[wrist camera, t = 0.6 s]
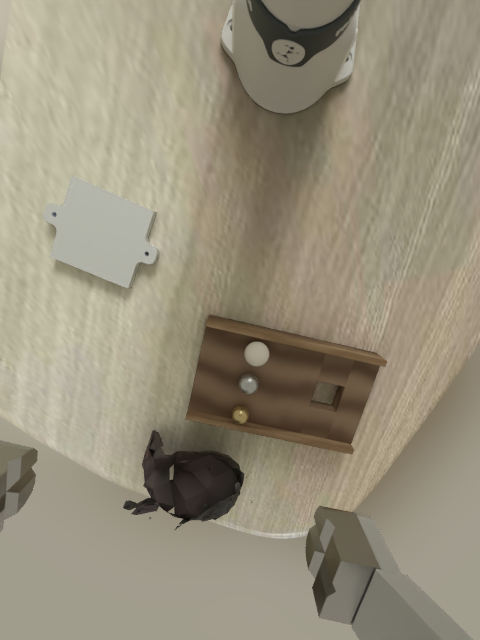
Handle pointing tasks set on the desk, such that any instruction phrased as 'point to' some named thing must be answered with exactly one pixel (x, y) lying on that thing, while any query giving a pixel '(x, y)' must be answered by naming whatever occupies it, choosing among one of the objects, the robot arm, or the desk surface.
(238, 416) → the brass ball
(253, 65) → the robot arm
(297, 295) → the desk surface
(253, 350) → the cream ball
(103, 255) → the mounting plate
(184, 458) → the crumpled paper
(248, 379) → the steel ball
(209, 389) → the board
